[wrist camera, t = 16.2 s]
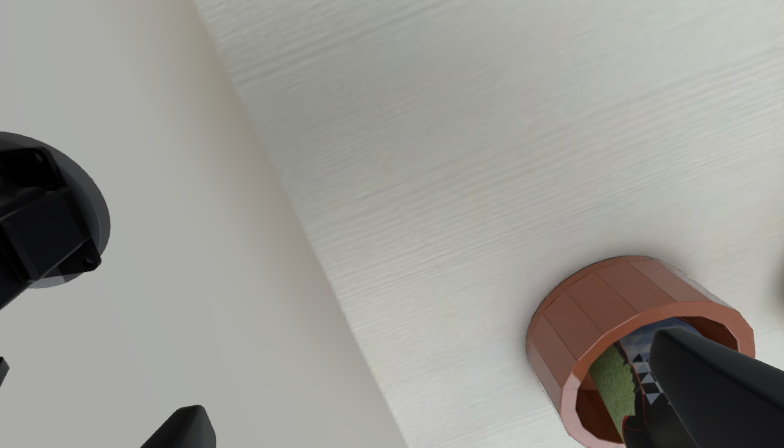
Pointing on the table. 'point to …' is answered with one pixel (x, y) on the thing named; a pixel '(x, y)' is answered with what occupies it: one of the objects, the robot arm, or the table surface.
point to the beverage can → (639, 391)
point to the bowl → (615, 333)
